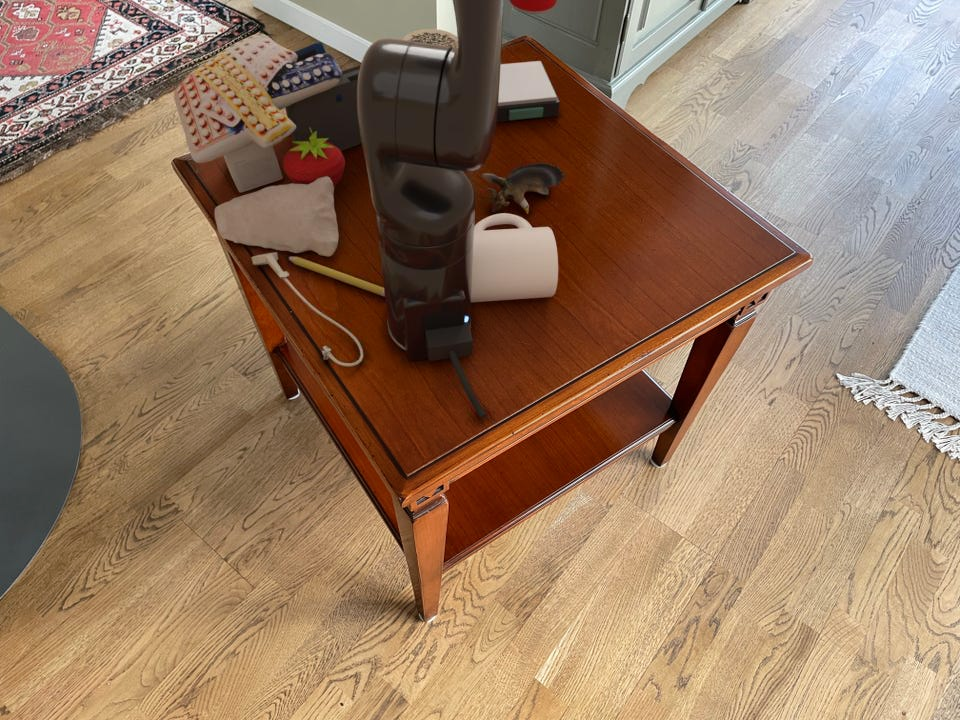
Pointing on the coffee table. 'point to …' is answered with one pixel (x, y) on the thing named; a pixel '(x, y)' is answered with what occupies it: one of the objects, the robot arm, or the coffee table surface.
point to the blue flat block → (311, 51)
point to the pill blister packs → (248, 96)
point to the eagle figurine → (523, 183)
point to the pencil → (337, 275)
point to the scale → (525, 92)
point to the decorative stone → (283, 218)
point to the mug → (513, 260)
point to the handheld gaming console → (329, 114)
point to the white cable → (272, 261)
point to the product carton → (253, 166)
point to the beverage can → (533, 5)
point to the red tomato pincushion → (313, 161)
